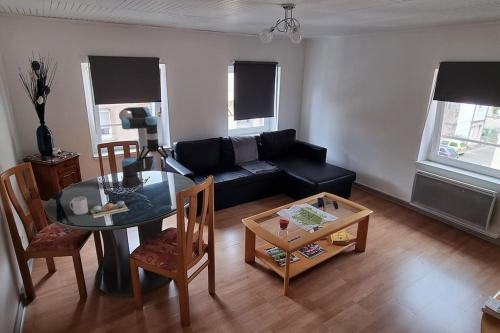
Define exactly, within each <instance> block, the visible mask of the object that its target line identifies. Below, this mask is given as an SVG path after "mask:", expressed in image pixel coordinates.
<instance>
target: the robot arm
mask: <svg viewBox="0 0 500 333" xmlns="http://www.w3.org/2000/svg"><path fill="white" fill-rule="evenodd" d="M118 116H119V119H120V121H121V128H122V129H123V130H127V131H129V130H137V134H138V145H139V155H138V158H137V157H136V156H129V157H125V158H123V159H122V161H121V168H122V181H121V186H122V188H126V189H127V188H129V189H131V188H136V187H139V186H140V185H141V184H142V182H141V180H140V177H139V174H138V173H144V172H151V171H152V172H153V171H154V170H155V169H156V157H155V156H154V155H153V154H152V153H153V152H154V153H156V152H157V153H158V154H159V155H160V156H161V157H162V160H163V168H164V169H165V168H166V167H165V166H166V165H165V164H166V163H167V158H169V154H168V153H167V151H166V150H165V148H164V145H163V144H161V145H159V134H158V118H157V117H156V116H152V114H151V111H150V108H149V107H147V106H134V107H133V106H132V107H129V106H128V107H126V108H123V109H122V110H121V111H120V112H119V113H118ZM159 148H160V149H161V150H162V151H161V150H160V149H159Z"/></svg>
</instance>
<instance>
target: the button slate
mask: <svg viewBox="0 0 500 333" xmlns="http://www.w3.org/2000/svg"><path fill="white" fill-rule="evenodd" d="M116 204H117V206H118V207H119V209H120V208H124V207H123V206H124V205H126V204H125V201H124V200H118V201H117V202H116Z"/></svg>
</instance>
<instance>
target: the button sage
mask: <svg viewBox="0 0 500 333" xmlns="http://www.w3.org/2000/svg"><path fill="white" fill-rule="evenodd" d="M101 207H102V205H100V204H99V205H95V206H93V207H92V209H93V210H94V212H95V213H96V214H97V213H101V212H100V211H101Z"/></svg>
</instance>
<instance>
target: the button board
mask: <svg viewBox="0 0 500 333" xmlns="http://www.w3.org/2000/svg"><path fill="white" fill-rule="evenodd" d="M127 211H130V209H129V208H128V206H127V205H126V204H125V205H124V206H123V207H122V208H119V207H118V206H117V203H113V208H112V209H111V210H108V209H106V207H105V206H101V211H100V212H99V213H96V212H94V210H93V208H92V209H90V212H91V214H92V216H93V219H96V218H100V217H101V218H102V217H105V216H109V215H113V214H118V213H123V212H127Z"/></svg>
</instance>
